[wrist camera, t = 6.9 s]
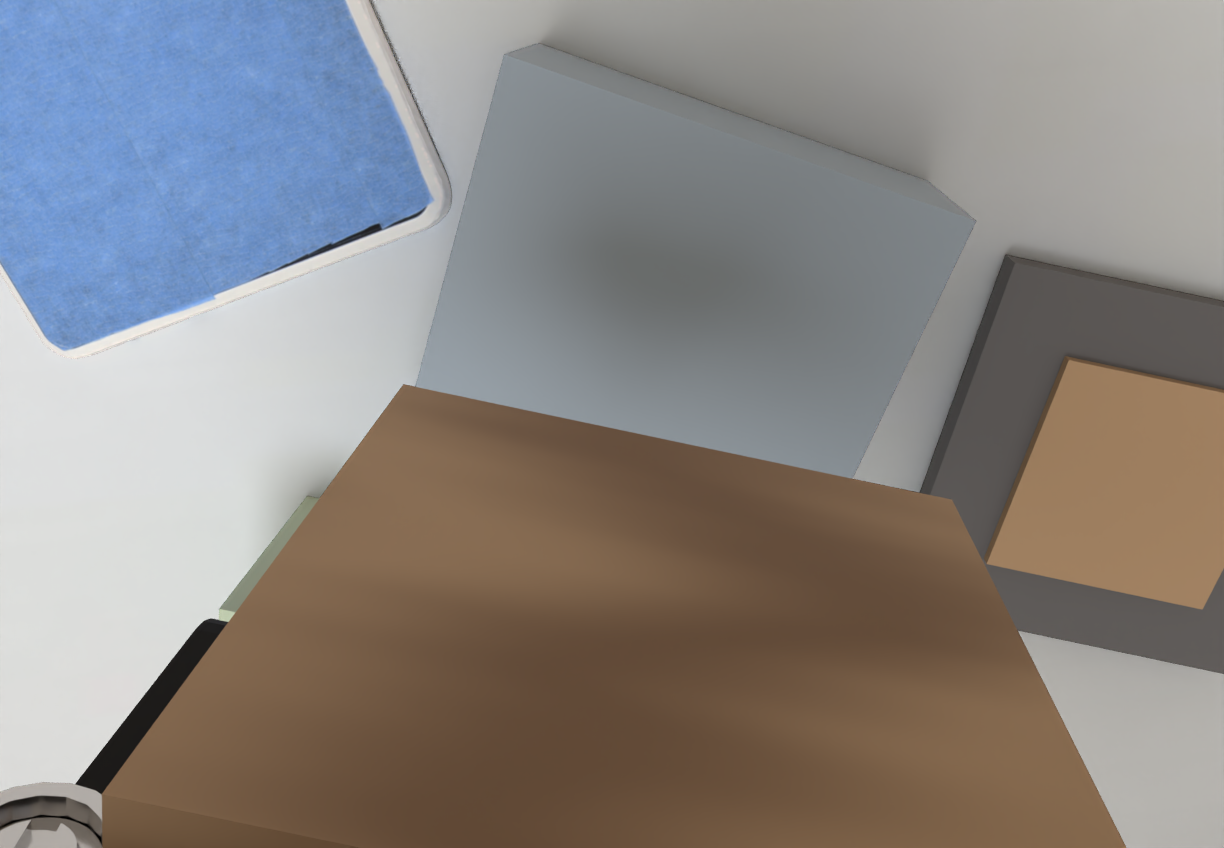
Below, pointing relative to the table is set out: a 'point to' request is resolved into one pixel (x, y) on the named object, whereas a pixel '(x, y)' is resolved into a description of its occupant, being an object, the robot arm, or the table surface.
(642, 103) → the base block
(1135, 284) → the tile
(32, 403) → the table surface
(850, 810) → the walnut cube
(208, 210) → the tablet computer
